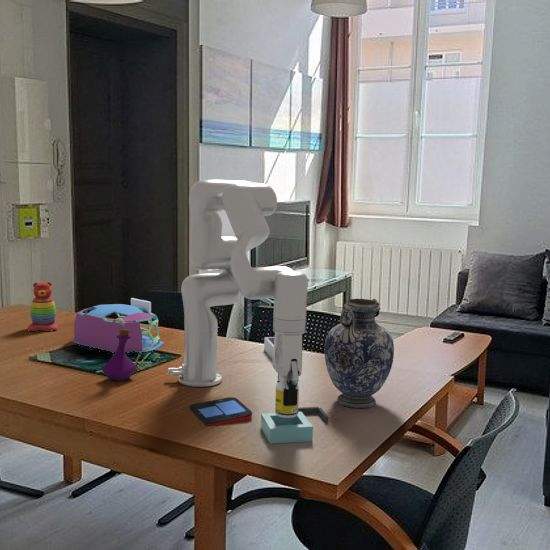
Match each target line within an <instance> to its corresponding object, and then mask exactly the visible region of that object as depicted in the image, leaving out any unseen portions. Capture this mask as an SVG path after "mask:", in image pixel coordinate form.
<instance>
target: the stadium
mask: <svg viewBox="0 0 550 550" xmlns="http://www.w3.org/2000/svg"><path fill="white" fill-rule="evenodd" d="M88 311H89V312H88ZM113 314H115V315H116V316H117V318H122V319H123V320H124V322H125V323H124V328H123V325H122V324H120V323H119V322H118V321H116V322H115V324H114V325H113V320H111V319H107V318H106V317H108V316H111V315H113ZM75 315H76V316H75V319H74V324H73V332H74V333H73V335H74V337H73V339H71V342H72V341H73V342H75V343H78V344H81V345H84V346H89V347H90V348H91V347H93V348H98V349H101V350H106V351H110V352H112V353H114V352H116V349H117V347H118V344H119V338H117V335H119V330H121V329H128V330H129V335H130V336H131V338H129V339H128V340H127V341H126V344H125V348H124V349H125V352H127V353H129V352H130V351H131V352H133V351H135V352H147V353H149V352H148V351H152V352H154V351H153V350H155V351H157V350H158V349H160V348H161V347H162V346H163V345H165V341H161V338H160V335H159V333H160V332H159V327H158V326H159V319H158V316H157V315H156V314H154V313H152V302H151V301H148V300H144V299H138V298H134V297H131V298H130V305H129V304H125V303H124V304H122V303H113V304H98V305H94V306H91V307H88V308H84V309H82V310H80V311H77V312H76V314H75ZM146 321H147V323H148V326H147V328H143V327H141V325H140V323H141V322H146ZM153 327H154V328H156V334H157V336H155V337H154V336H153V335H152V332H151V329H152V328H153ZM146 335H148V336H146ZM73 342H72V343H73ZM75 343H74V344H75Z"/></svg>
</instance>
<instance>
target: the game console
mask: <svg viewBox="0 0 550 550" xmlns="http://www.w3.org/2000/svg"><path fill="white" fill-rule="evenodd" d="M189 409H190V410H191V412H192V413H194V415H195V416H196V417H197V418H198V419H199V420H200V422H201V423H203V424H204V425H205V426H206V427H211V426H219V425H225V424H226V425H227V424H233V423H242V422H248V421H251V420H252V416H253V411H251V410H250V409H249V408H248V407H247V406H246V405H245V404H243V403H242V402H241V401H240V400H239V399H238V398H237V397H234V396H233V397H232V396H229V397H223V398H218V399H214V400H208V401H203V402H198V403H194V404H190V406H189Z"/></svg>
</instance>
